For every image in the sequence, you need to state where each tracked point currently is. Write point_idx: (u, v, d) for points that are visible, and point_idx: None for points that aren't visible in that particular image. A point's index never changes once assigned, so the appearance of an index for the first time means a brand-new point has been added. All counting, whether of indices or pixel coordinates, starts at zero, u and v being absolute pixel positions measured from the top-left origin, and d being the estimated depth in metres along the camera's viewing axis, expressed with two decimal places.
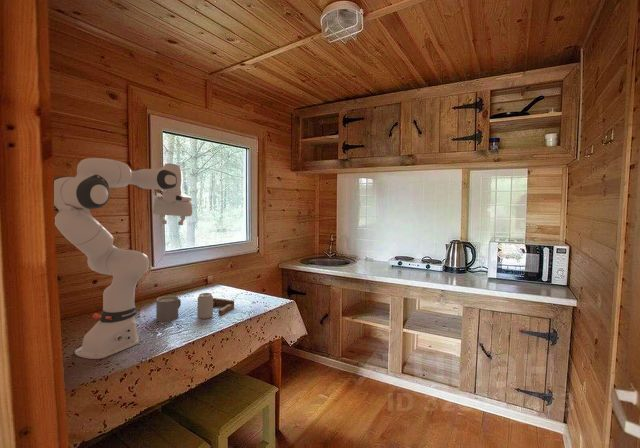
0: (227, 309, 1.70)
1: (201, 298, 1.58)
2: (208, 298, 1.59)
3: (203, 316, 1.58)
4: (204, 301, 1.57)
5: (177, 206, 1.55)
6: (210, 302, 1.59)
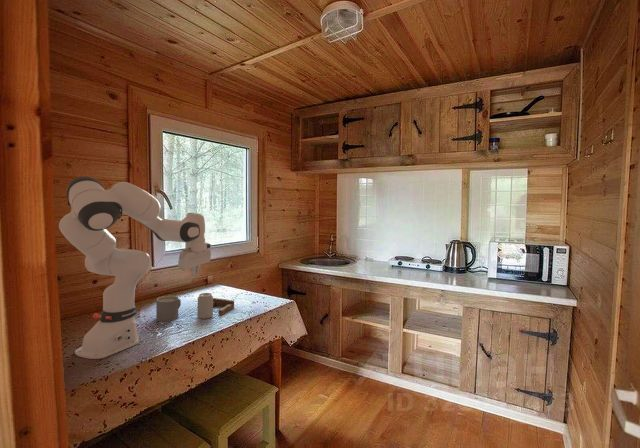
0: (227, 309, 1.70)
1: (201, 298, 1.58)
2: (208, 298, 1.59)
3: (203, 316, 1.58)
4: (204, 301, 1.57)
5: (203, 254, 1.54)
6: (210, 302, 1.59)
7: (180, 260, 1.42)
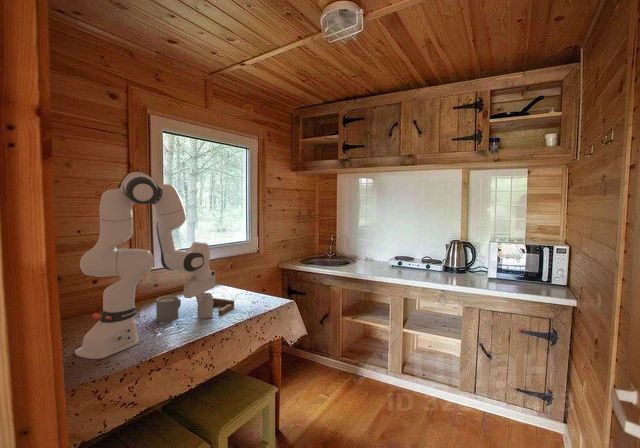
0: (227, 309, 1.70)
1: None
2: (208, 298, 1.59)
3: (203, 316, 1.58)
4: (204, 301, 1.57)
5: (207, 281, 1.59)
6: (210, 302, 1.59)
7: (185, 289, 1.46)
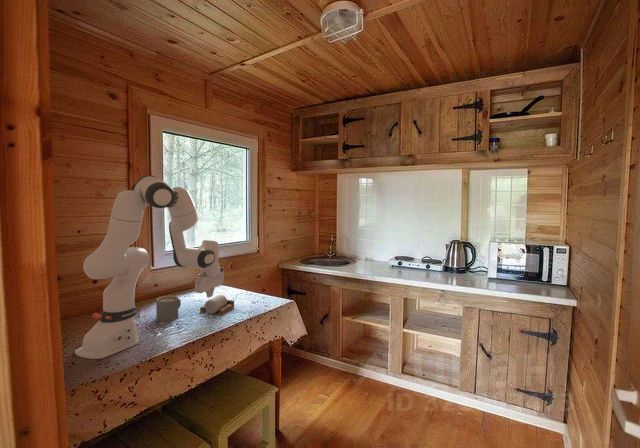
0: (227, 309, 1.70)
1: None
2: (226, 299, 1.74)
3: (214, 300, 1.66)
4: (223, 297, 1.73)
5: (216, 277, 1.67)
6: (224, 302, 1.72)
7: (197, 285, 1.54)
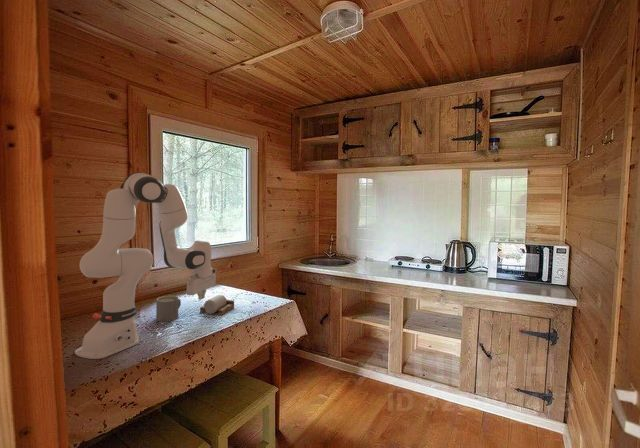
0: (227, 309, 1.70)
1: None
2: (225, 298, 1.74)
3: (213, 300, 1.66)
4: (222, 296, 1.74)
5: (208, 279, 1.63)
6: (223, 301, 1.72)
7: (188, 286, 1.50)
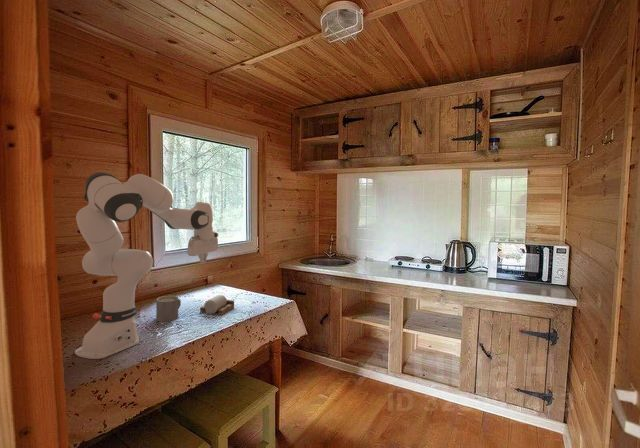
0: (227, 309, 1.70)
1: None
2: (225, 299, 1.74)
3: (213, 300, 1.66)
4: (222, 296, 1.73)
5: (210, 243, 1.60)
6: (224, 302, 1.72)
7: (189, 247, 1.48)
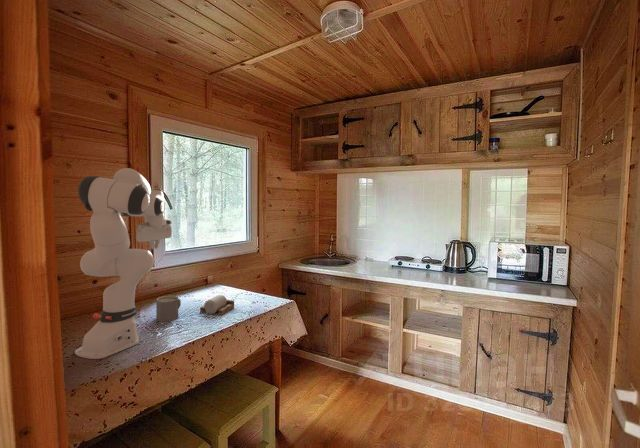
0: (227, 309, 1.70)
1: None
2: (225, 299, 1.74)
3: (213, 300, 1.66)
4: (222, 296, 1.73)
5: (162, 230, 1.64)
6: (224, 302, 1.72)
7: (138, 233, 1.51)
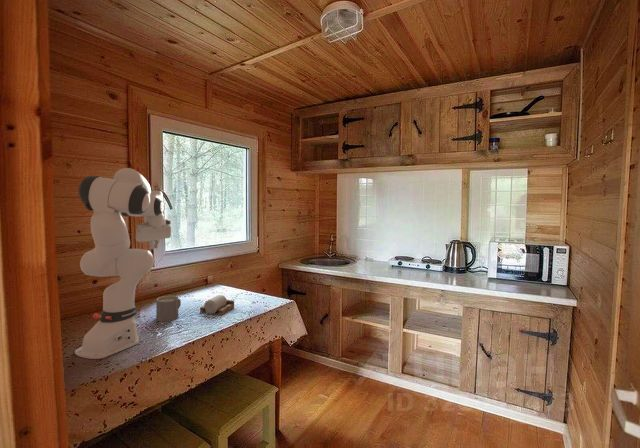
0: (227, 309, 1.70)
1: None
2: (225, 299, 1.74)
3: (213, 300, 1.66)
4: (222, 296, 1.73)
5: (162, 230, 1.64)
6: (224, 302, 1.72)
7: (137, 233, 1.51)
